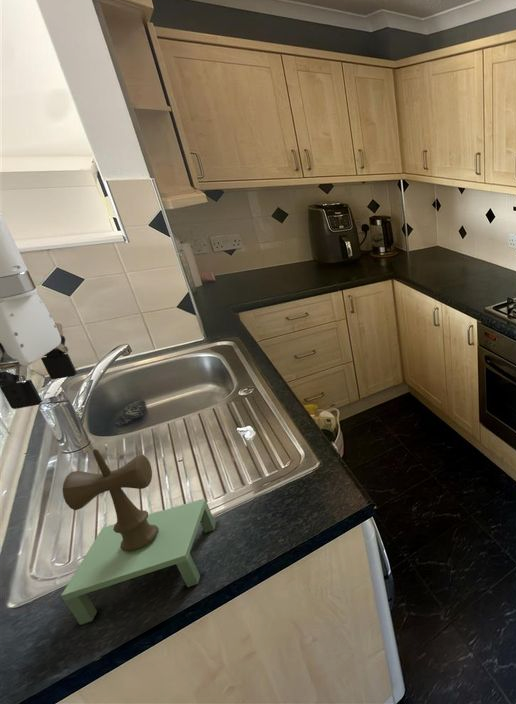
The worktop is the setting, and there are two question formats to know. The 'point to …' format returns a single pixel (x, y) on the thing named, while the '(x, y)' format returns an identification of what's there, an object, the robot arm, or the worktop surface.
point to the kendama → (115, 497)
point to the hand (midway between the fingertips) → (47, 390)
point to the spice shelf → (138, 555)
